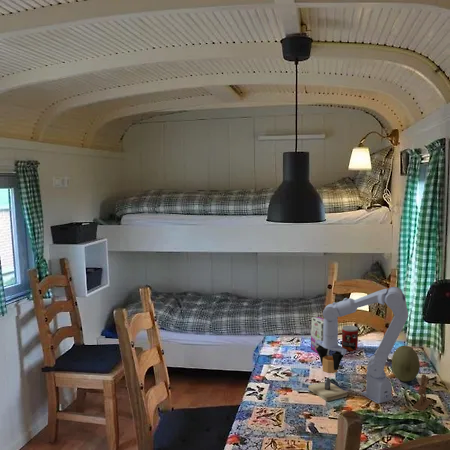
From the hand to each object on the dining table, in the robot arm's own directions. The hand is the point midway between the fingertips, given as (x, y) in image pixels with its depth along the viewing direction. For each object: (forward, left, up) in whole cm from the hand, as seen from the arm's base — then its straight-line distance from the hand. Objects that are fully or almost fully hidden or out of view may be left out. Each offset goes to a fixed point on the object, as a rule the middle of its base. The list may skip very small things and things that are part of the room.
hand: (330, 366), depth 195 cm
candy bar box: (+36, -22, -10) cm, 43 cm away
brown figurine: (-27, -23, -10) cm, 36 cm away
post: (-2, +3, -8) cm, 9 cm away
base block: (-2, +3, -9) cm, 10 cm away
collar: (0, 0, -2) cm, 2 cm away
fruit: (-7, -34, -10) cm, 36 cm away
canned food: (+33, -38, -10) cm, 51 cm away
